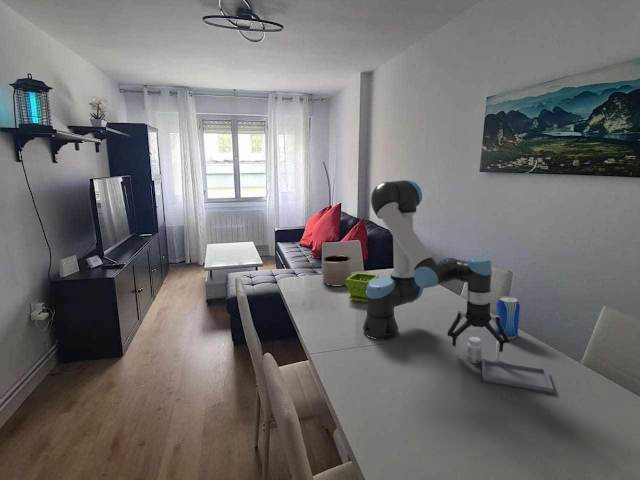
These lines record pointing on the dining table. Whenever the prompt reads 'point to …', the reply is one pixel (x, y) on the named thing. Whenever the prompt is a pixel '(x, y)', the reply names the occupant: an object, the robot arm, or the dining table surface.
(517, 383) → the rest tray
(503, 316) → the beer can
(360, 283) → the flower pot
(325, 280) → the planter
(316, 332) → the dining table surface
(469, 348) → the pill bottle
